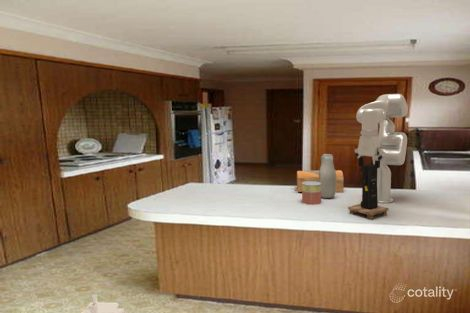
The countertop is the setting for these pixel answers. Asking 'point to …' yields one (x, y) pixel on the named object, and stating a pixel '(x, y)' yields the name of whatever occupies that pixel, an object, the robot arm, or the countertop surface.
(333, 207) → the countertop surface
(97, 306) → the bracket
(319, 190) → the canned food
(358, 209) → the stand
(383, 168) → the robot arm
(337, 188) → the wooden box
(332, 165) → the grey bottle
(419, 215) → the countertop surface
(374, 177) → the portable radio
